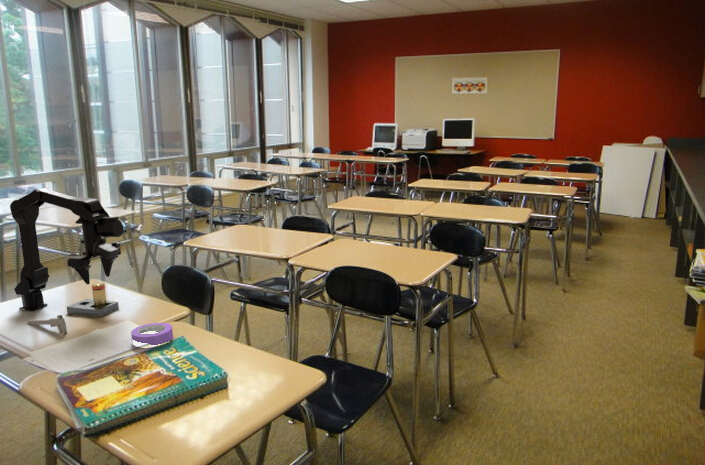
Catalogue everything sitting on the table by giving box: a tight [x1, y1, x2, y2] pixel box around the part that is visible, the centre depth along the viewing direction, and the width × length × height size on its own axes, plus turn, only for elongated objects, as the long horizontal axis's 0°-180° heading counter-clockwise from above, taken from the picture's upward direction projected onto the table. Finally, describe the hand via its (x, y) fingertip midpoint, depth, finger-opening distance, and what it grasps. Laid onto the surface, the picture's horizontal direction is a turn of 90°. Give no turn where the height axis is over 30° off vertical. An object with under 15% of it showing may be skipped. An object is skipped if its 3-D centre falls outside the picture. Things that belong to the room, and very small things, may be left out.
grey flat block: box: [66, 298, 120, 318], centre depth 187 cm, size 14×9×2 cm, turn 72°
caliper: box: [27, 314, 68, 335], centre depth 172 cm, size 20×1×6 cm, turn 60°
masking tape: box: [130, 322, 174, 345], centre depth 161 cm, size 12×12×4 cm
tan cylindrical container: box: [91, 282, 108, 308], centre depth 186 cm, size 4×4×10 cm
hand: (98, 280), depth 184 cm, fingers open, 9 cm apart
